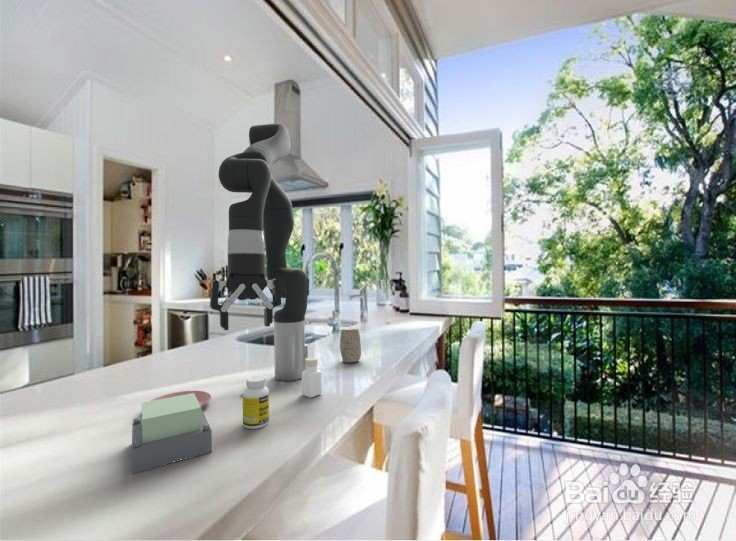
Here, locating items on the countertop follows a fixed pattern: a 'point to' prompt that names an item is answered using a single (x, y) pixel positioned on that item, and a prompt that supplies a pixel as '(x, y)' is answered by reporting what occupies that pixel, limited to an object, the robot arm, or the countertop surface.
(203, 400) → the plate
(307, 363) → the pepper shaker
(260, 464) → the countertop surface
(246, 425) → the supplement bottle
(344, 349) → the carving
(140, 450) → the sponge in grey tray
